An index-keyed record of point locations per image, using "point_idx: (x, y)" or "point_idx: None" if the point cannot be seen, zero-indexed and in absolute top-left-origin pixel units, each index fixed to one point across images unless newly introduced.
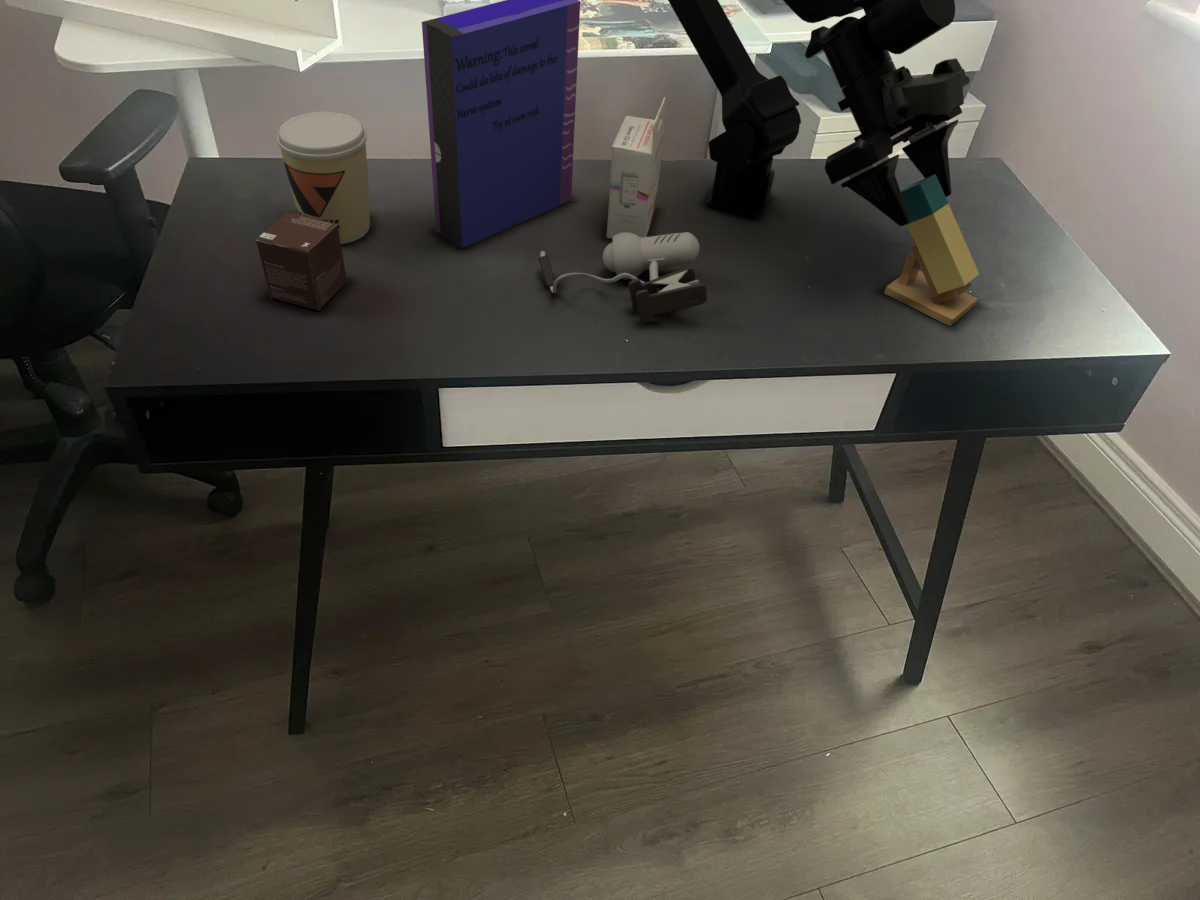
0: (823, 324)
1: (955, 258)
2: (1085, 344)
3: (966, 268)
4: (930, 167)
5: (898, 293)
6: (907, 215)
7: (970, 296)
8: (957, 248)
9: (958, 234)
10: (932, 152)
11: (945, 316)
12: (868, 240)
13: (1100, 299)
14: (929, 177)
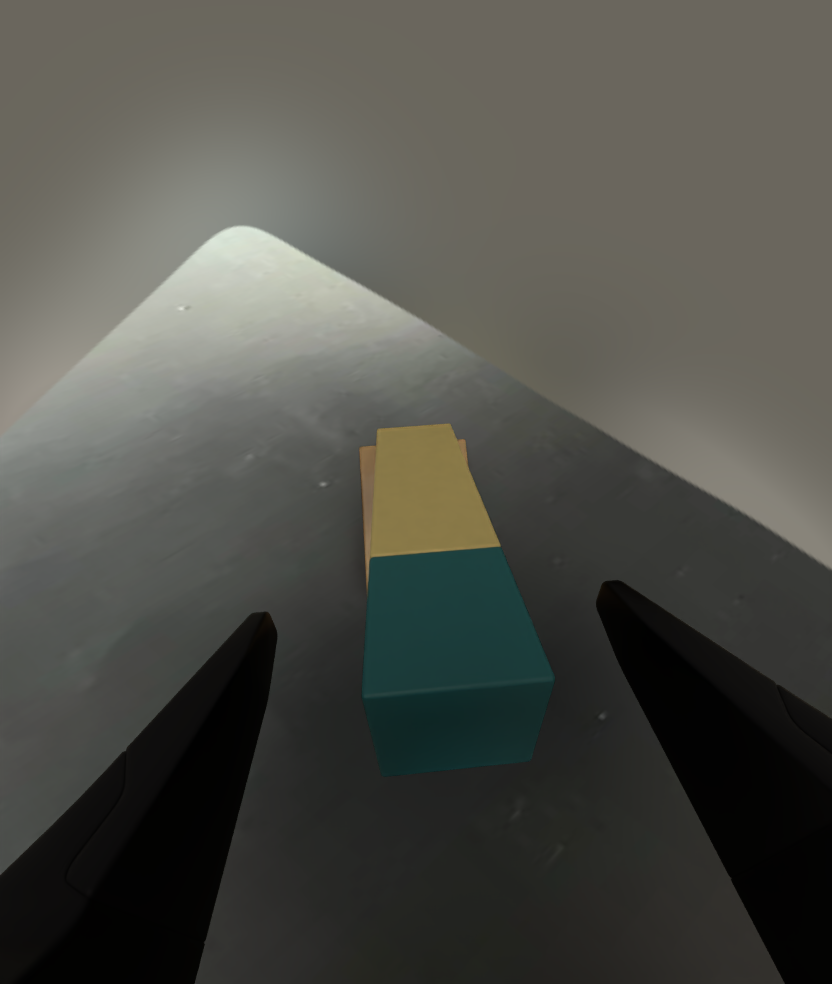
0: (670, 600)
1: (453, 452)
2: (310, 284)
3: (420, 437)
4: (211, 807)
5: None
6: (627, 597)
7: (365, 459)
8: (426, 464)
9: (395, 483)
10: (133, 918)
11: (466, 453)
12: (320, 763)
13: (150, 324)
14: (435, 691)
